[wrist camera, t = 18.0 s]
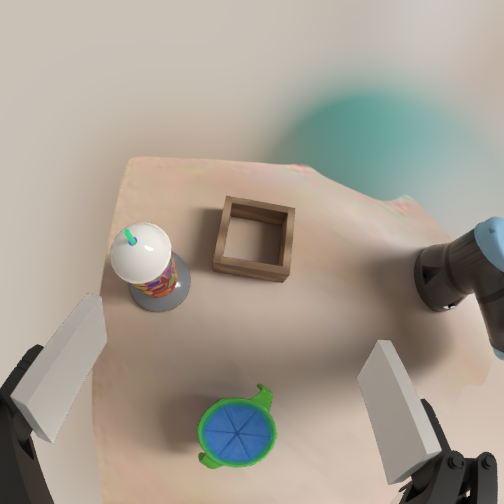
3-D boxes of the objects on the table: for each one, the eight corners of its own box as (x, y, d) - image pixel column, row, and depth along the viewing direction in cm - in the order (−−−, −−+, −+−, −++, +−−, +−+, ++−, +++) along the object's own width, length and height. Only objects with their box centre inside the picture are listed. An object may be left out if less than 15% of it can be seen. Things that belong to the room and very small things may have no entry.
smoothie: (145, 251, 49) (110, 191, 31) (189, 264, 49) (174, 207, 31) (129, 295, 46) (81, 256, 27) (174, 310, 46) (147, 278, 28)
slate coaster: (164, 239, 51) (163, 237, 50) (203, 283, 49) (203, 282, 49) (118, 277, 48) (117, 276, 47) (155, 325, 46) (154, 324, 45)
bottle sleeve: (225, 209, 55) (226, 195, 50) (288, 220, 56) (295, 208, 51) (213, 271, 50) (212, 261, 46) (282, 282, 51) (289, 274, 47)
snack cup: (242, 366, 45) (248, 369, 36) (287, 406, 44) (305, 417, 34) (178, 428, 40) (168, 445, 31) (224, 466, 38) (227, 491, 29)
